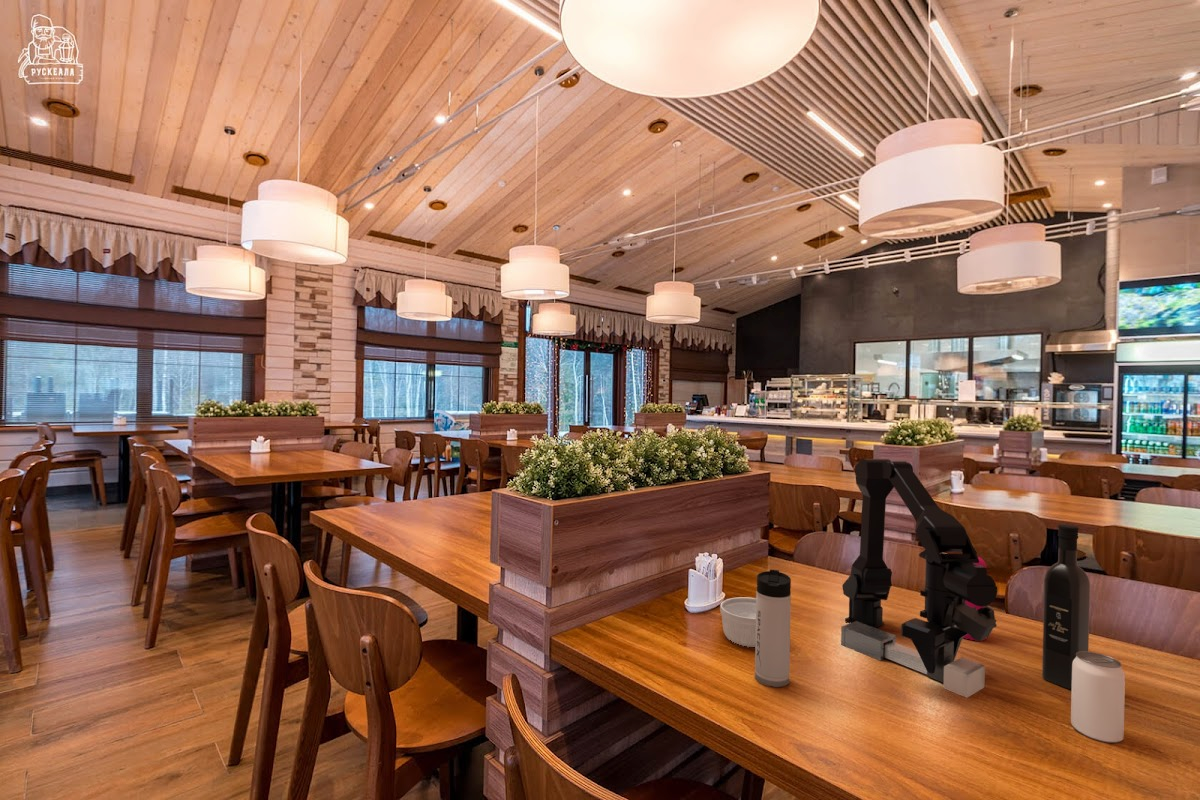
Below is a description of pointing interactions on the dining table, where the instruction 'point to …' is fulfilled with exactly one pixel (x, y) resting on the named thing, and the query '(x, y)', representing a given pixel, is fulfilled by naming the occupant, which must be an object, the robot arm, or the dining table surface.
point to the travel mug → (773, 628)
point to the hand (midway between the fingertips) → (940, 667)
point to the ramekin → (739, 620)
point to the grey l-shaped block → (914, 660)
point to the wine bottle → (1065, 611)
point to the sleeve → (865, 639)
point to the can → (1098, 697)
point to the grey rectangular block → (964, 677)
